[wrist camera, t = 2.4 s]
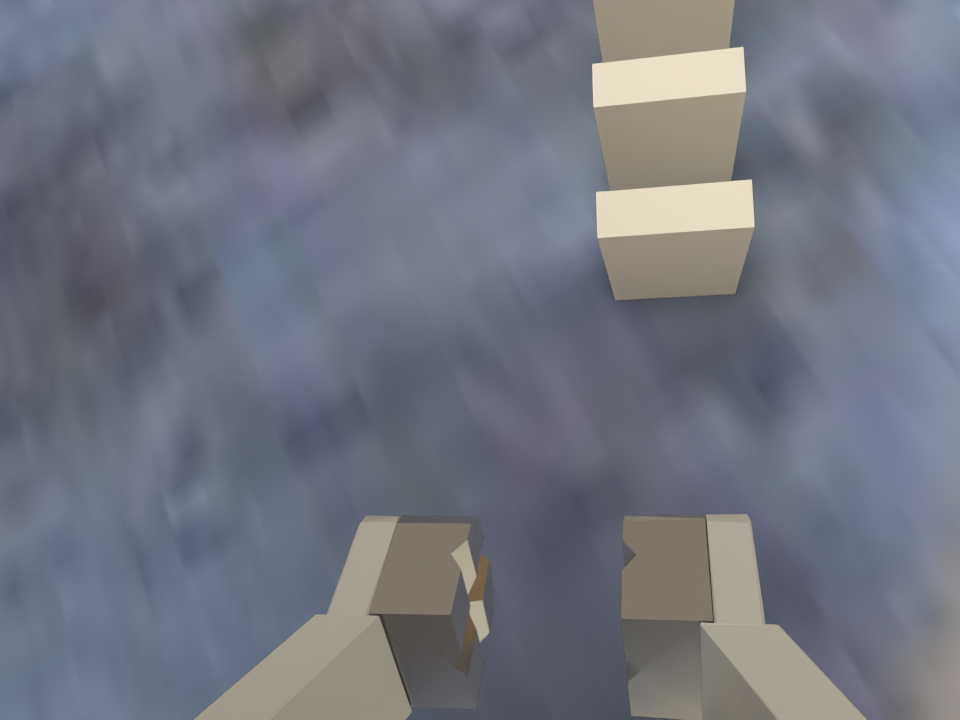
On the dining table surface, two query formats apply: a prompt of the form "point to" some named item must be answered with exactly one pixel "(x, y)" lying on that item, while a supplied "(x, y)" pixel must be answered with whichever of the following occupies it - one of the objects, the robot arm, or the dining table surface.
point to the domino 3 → (675, 238)
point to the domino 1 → (661, 27)
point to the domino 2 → (670, 118)
